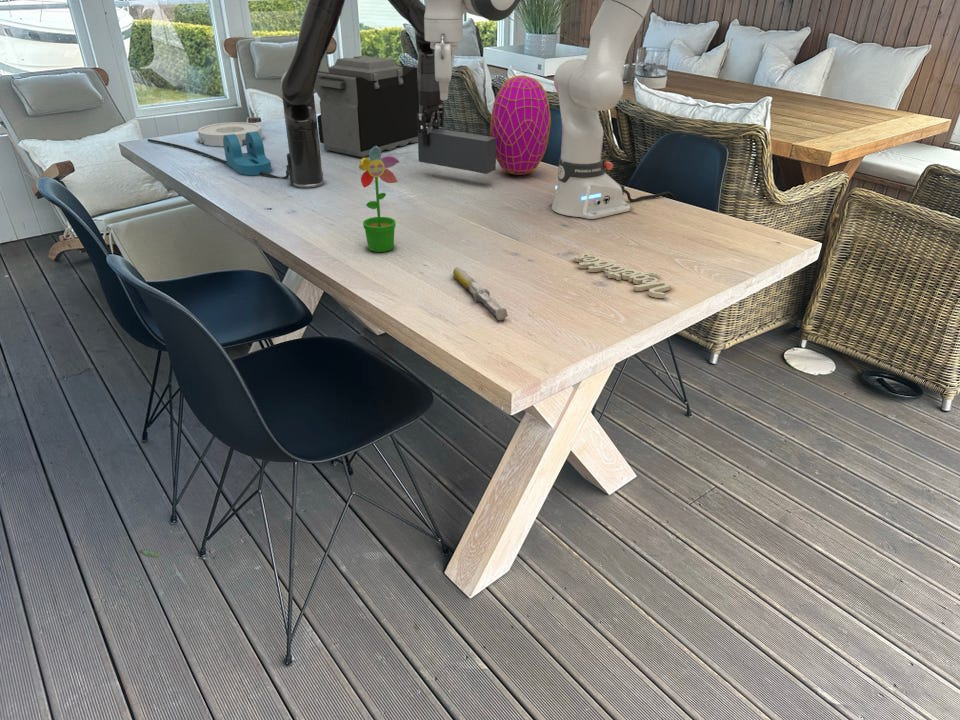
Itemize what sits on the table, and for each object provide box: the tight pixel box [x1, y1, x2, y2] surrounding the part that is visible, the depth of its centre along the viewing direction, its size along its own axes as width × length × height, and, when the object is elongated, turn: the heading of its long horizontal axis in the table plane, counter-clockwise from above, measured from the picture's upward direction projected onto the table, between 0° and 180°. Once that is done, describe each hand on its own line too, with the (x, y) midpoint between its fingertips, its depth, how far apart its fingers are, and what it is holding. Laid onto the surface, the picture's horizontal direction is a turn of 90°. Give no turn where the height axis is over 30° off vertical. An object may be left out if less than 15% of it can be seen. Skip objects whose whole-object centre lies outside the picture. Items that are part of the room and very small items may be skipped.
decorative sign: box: [574, 252, 671, 299], centre depth 155 cm, size 26×1×10 cm
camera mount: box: [223, 131, 272, 176], centre depth 226 cm, size 18×10×10 cm, turn 35°
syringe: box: [452, 266, 509, 321], centre depth 145 cm, size 25×4×3 cm, turn 21°
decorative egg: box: [489, 75, 552, 176], centre depth 220 cm, size 19×19×30 cm
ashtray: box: [197, 121, 264, 147], centre depth 263 cm, size 23×23×4 cm
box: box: [417, 127, 497, 175], centre depth 215 cm, size 25×6×10 cm, turn 59°
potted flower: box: [358, 146, 400, 253], centre depth 162 cm, size 9×8×25 cm
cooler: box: [314, 55, 421, 159], centre depth 250 cm, size 37×22×30 cm, turn 144°
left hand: (431, 143), depth 219 cm, fingers closed on box, 6 cm apart
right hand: (444, 96), depth 165 cm, fingers open, 8 cm apart
